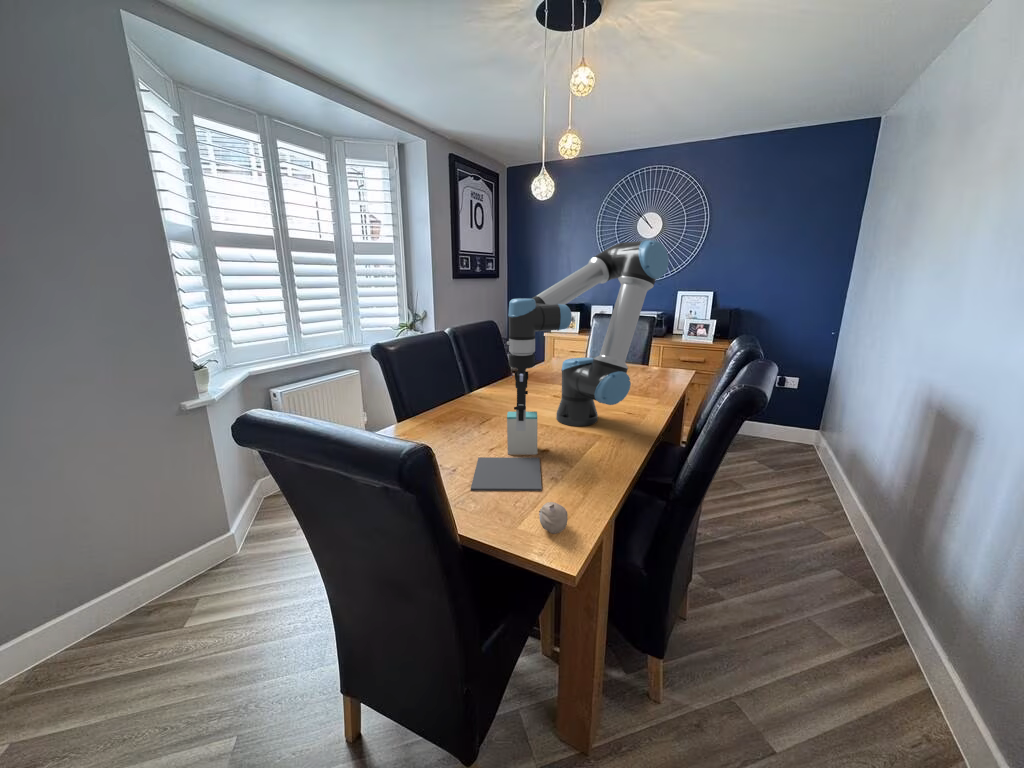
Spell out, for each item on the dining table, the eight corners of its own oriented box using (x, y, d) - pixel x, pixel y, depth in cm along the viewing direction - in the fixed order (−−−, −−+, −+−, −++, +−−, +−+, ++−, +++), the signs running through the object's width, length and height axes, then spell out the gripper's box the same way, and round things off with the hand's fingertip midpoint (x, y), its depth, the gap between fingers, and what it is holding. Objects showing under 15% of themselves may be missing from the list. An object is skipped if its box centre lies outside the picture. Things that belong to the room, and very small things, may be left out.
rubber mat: (539, 459, 122) (539, 457, 121) (541, 490, 104) (541, 488, 104) (478, 459, 122) (478, 457, 122) (470, 490, 105) (470, 488, 105)
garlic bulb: (532, 530, 89) (532, 497, 86) (550, 517, 93) (550, 485, 91) (557, 543, 84) (558, 508, 82) (574, 528, 89) (575, 495, 87)
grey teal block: (536, 447, 130) (537, 411, 127) (537, 454, 125) (537, 417, 122) (508, 447, 130) (507, 411, 127) (507, 454, 125) (506, 417, 122)
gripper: (510, 345, 131) (510, 409, 137) (506, 361, 107) (506, 437, 113) (533, 345, 131) (532, 409, 137) (535, 362, 107) (534, 438, 113)
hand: (521, 422), depth 125 cm, fingers open, 13 cm apart
